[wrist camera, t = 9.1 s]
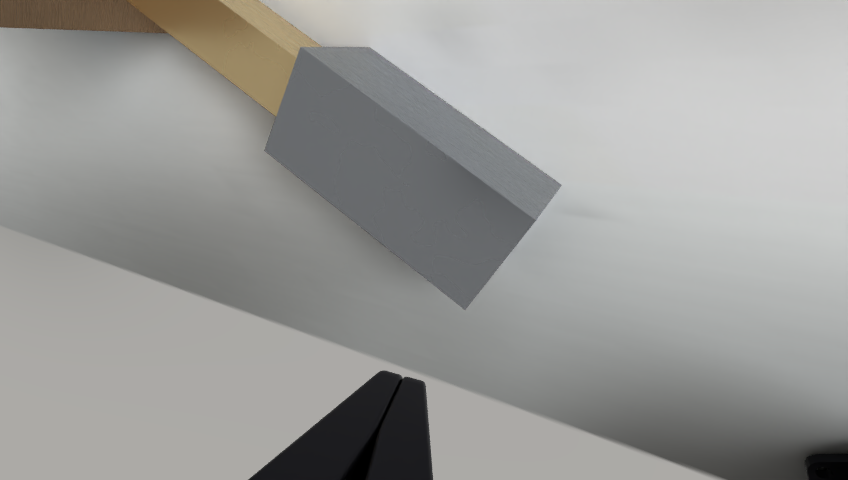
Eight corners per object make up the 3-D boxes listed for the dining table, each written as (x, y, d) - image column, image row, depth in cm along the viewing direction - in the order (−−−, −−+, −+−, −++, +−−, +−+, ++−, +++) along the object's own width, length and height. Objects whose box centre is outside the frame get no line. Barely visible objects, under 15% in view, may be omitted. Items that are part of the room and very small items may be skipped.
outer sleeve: (561, 185, 19) (535, 220, 15) (501, 262, 21) (464, 310, 17) (369, 47, 20) (300, 46, 16) (332, 133, 22) (264, 150, 19)
